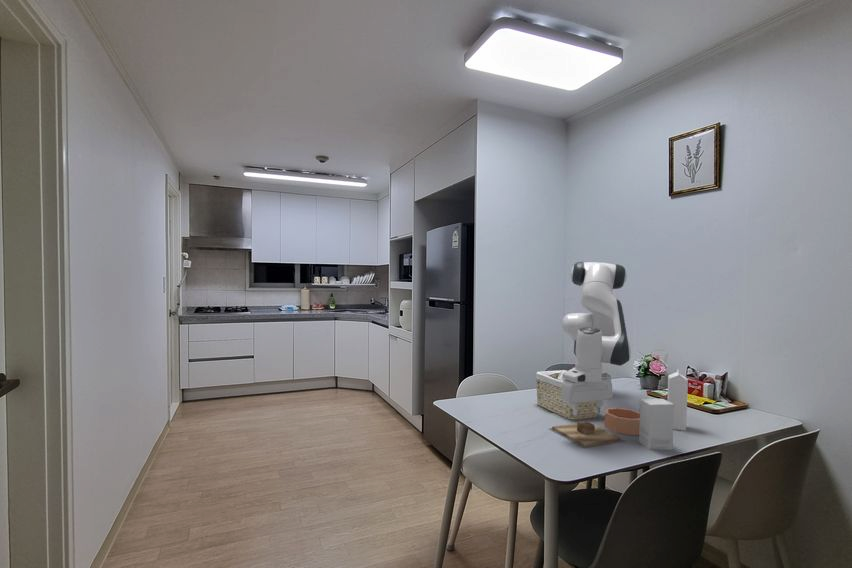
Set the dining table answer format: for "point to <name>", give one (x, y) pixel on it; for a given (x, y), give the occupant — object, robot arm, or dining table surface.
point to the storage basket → (559, 396)
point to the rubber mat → (586, 446)
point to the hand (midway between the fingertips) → (586, 413)
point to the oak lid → (586, 433)
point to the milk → (678, 399)
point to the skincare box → (656, 423)
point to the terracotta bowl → (622, 421)
